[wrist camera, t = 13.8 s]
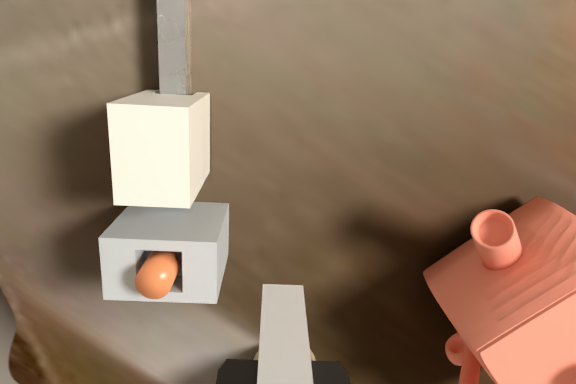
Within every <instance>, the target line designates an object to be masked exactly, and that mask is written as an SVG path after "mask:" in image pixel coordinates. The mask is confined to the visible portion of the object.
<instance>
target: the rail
mask: <svg viewBox="0 0 576 384" xmlns="http://www.w3.org/2000/svg"><path fill="white" fill-rule="evenodd" d="M157 27H158V57H159V86H160V94H175V95H192V53H191V0H157Z"/></svg>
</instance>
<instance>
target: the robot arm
mask: <svg viewBox="0 0 576 384" xmlns="http://www.w3.org/2000/svg"><path fill="white" fill-rule="evenodd" d="M216 384H350V380H349V376H348V373H347V371H346V370H345V369H344V367H343V366H342V365H341V364H340V362H339V361H311V356H310V347H309V338H308V328H307V319H306V310H305V300H304V291H303V286H302V285H275V284H263V292H262V309H261V325H260V342H259V358H258V360H237V359H227V360H226V361H225V362H224V364H223V365H222V366H221V368H220V369H219V370H218V375H217V380H216Z"/></svg>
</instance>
